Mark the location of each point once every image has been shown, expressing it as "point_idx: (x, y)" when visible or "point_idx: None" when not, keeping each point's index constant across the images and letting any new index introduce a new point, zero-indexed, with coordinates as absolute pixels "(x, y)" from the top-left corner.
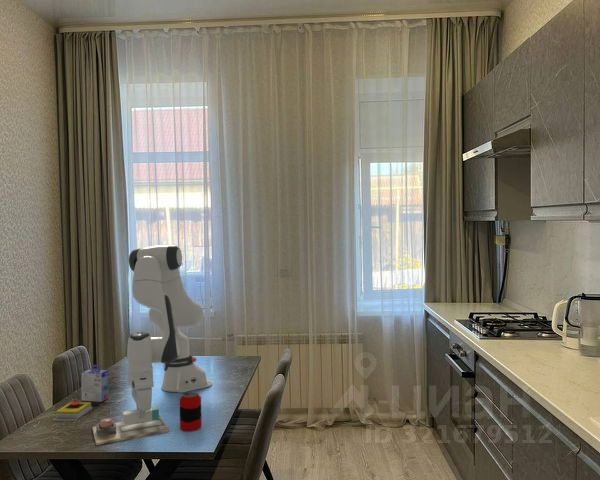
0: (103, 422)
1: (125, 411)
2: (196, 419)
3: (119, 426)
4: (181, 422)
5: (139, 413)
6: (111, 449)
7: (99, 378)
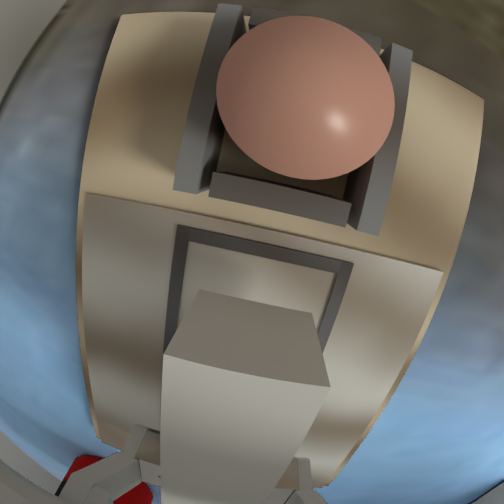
0: (248, 38)
1: (310, 413)
2: None
3: (336, 266)
4: None
5: (144, 461)
6: (21, 106)
7: None
